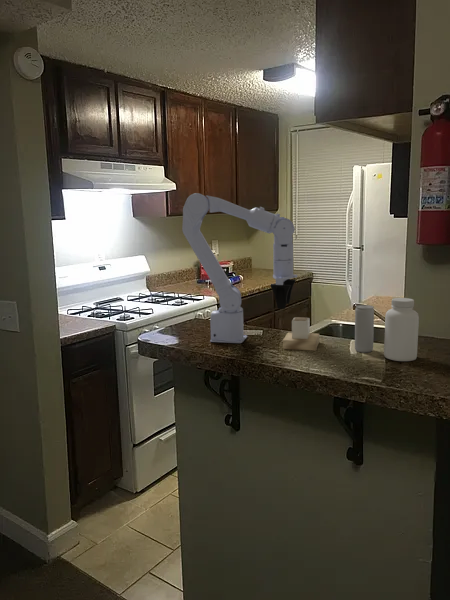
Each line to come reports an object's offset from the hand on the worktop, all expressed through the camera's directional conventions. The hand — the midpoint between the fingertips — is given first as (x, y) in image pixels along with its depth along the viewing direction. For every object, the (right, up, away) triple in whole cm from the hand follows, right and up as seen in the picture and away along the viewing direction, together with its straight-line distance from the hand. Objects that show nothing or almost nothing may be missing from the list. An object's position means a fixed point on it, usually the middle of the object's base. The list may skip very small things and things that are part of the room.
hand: (283, 306), depth 149 cm
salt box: (+4, -9, -7) cm, 12 cm away
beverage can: (+20, -12, -13) cm, 27 cm away
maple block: (+4, -12, -6) cm, 14 cm away
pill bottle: (+27, -13, -20) cm, 36 cm away
